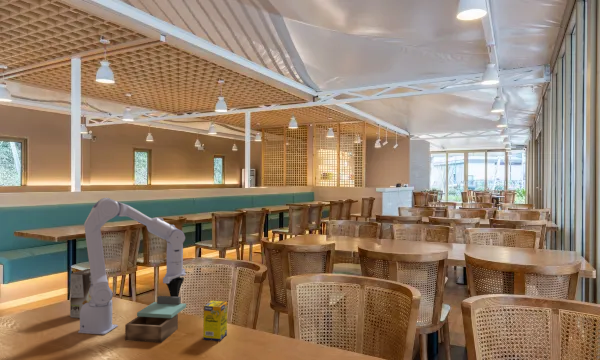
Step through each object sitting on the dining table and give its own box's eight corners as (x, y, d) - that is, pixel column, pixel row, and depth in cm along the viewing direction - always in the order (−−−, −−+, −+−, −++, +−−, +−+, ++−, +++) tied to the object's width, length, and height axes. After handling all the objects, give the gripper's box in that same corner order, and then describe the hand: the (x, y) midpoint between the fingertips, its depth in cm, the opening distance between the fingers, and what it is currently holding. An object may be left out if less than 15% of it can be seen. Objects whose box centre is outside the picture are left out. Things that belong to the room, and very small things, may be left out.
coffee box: (85, 318, 151) (85, 274, 151) (69, 317, 153) (69, 273, 152) (101, 310, 160) (102, 269, 160) (87, 309, 162) (87, 268, 161)
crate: (125, 340, 132) (125, 324, 132) (144, 326, 144) (144, 312, 144) (161, 342, 130) (161, 326, 130) (177, 328, 142) (177, 314, 142)
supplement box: (220, 341, 132) (220, 306, 131) (202, 340, 133) (202, 305, 133) (227, 334, 137) (227, 301, 137) (210, 333, 139) (210, 300, 139)
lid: (136, 316, 139) (136, 305, 139) (154, 305, 151) (154, 295, 151) (171, 318, 137) (171, 307, 137) (186, 307, 149) (186, 296, 149)
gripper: (176, 265, 145) (176, 304, 146) (192, 257, 160) (192, 293, 160) (157, 264, 146) (157, 303, 147) (175, 257, 161) (175, 292, 161)
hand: (174, 298), depth 153 cm, fingers closed
